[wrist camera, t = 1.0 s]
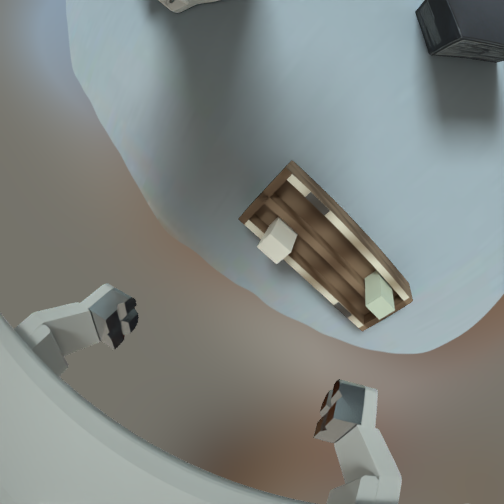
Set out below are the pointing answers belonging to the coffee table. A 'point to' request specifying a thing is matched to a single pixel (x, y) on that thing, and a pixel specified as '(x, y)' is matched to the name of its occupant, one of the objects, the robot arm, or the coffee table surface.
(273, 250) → the offwhite block
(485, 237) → the coffee table surface
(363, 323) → the wooden shelf rack
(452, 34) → the small box
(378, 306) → the sage tab
